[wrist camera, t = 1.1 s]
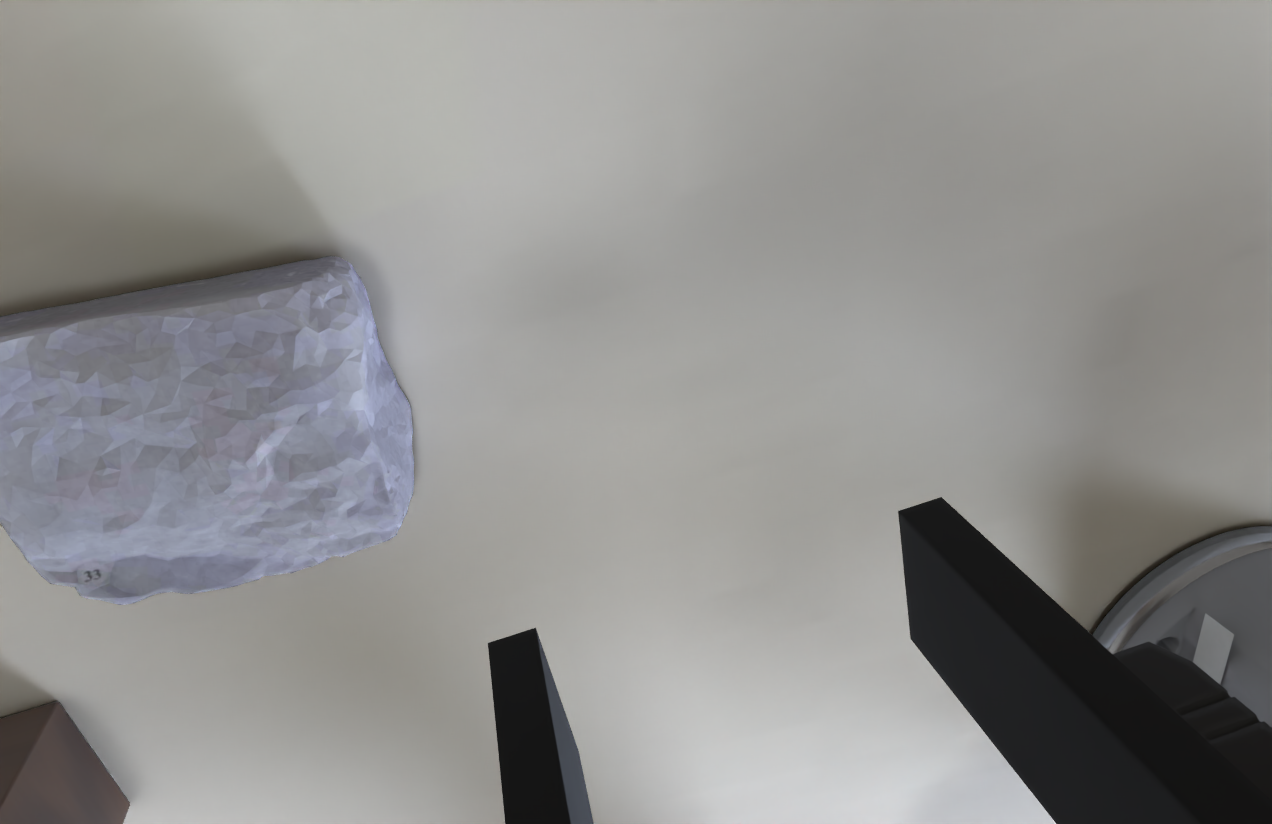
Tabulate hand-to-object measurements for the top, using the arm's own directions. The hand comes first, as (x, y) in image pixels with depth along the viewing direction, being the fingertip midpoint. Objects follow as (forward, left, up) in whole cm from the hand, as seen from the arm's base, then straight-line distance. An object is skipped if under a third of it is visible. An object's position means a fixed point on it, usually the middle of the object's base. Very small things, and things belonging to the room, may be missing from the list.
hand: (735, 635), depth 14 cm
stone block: (0, +12, -17) cm, 21 cm away
